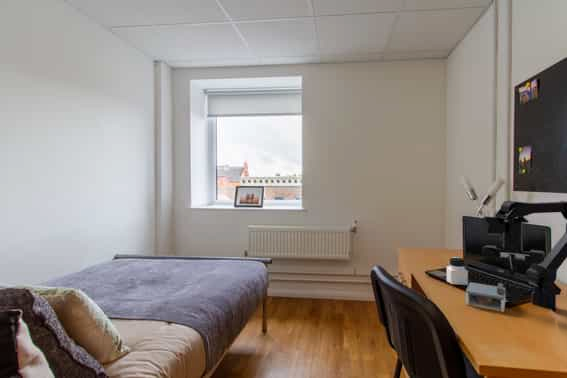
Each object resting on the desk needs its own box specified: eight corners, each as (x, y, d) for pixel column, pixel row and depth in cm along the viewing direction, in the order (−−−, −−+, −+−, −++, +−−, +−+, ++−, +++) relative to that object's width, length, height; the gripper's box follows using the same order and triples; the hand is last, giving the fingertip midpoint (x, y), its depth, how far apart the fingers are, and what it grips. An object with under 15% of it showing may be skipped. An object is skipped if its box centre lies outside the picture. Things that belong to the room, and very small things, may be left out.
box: (505, 303, 125) (505, 290, 125) (503, 314, 115) (503, 300, 115) (469, 296, 132) (470, 284, 132) (465, 306, 122) (465, 293, 122)
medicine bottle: (468, 286, 144) (468, 260, 144) (451, 285, 146) (451, 259, 146) (462, 281, 151) (462, 256, 151) (446, 280, 153) (446, 256, 153)
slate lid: (505, 289, 125) (505, 282, 125) (503, 299, 115) (504, 291, 115) (470, 284, 132) (470, 277, 132) (465, 292, 122) (465, 285, 122)
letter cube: (492, 303, 123) (492, 292, 123) (491, 306, 120) (491, 295, 120) (480, 300, 126) (480, 290, 126) (478, 304, 122) (478, 293, 122)
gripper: (545, 233, 121) (544, 274, 121) (487, 229, 133) (487, 266, 133) (544, 238, 112) (543, 282, 113) (482, 233, 124) (482, 272, 125)
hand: (512, 275), depth 121 cm, fingers closed
